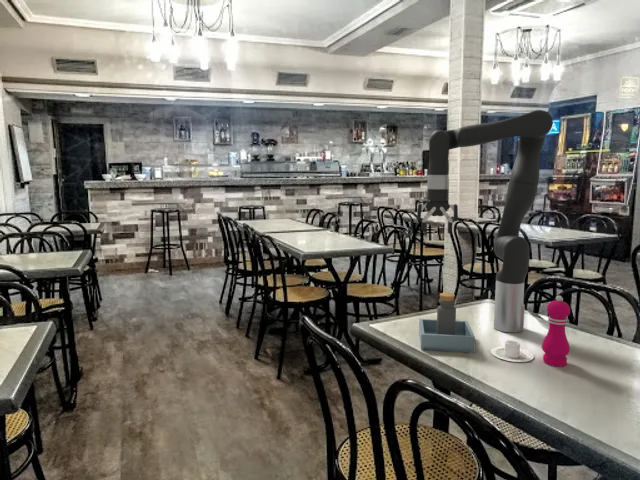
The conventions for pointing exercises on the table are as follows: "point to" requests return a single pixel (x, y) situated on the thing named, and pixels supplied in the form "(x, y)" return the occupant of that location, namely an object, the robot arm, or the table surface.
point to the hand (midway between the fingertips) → (436, 232)
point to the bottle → (446, 314)
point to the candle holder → (512, 351)
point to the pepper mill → (556, 334)
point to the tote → (446, 337)
